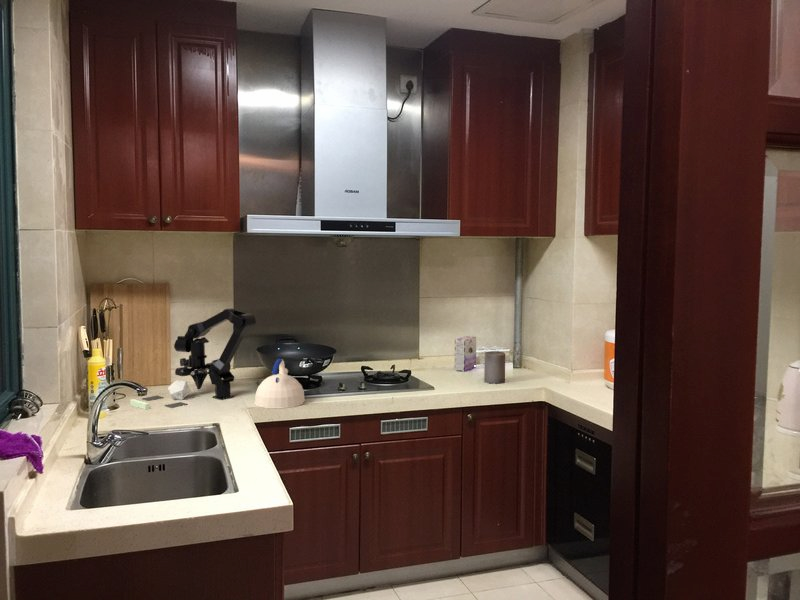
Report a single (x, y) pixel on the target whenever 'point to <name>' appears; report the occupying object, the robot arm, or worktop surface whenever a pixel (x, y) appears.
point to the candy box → (465, 353)
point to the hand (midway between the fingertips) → (198, 389)
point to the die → (179, 389)
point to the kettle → (279, 389)
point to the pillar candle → (494, 367)
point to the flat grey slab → (146, 405)
